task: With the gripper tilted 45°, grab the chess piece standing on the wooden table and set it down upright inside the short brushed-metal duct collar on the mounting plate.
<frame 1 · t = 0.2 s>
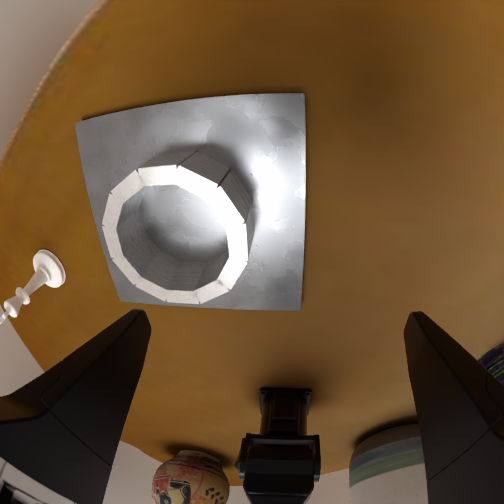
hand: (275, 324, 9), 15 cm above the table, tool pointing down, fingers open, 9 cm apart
chess piece: (51, 266, 29), on the table
vase: (393, 436, 41), on the table
ceramic jug: (195, 456, 52), on the table
duct collar: (190, 212, 24), on the table
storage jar: (493, 363, 30), on the table
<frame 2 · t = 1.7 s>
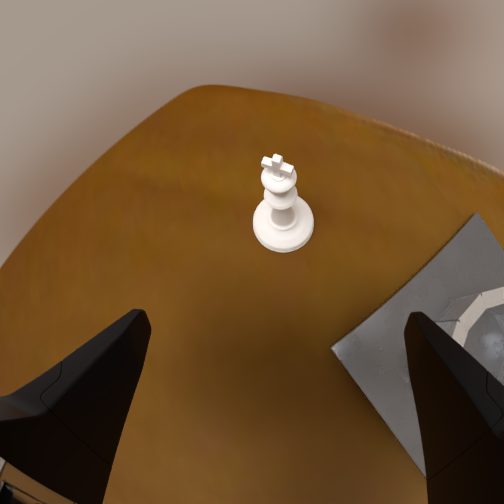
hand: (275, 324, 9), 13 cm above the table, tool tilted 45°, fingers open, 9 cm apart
chess piece: (283, 223, 25), on the table
duct collar: (467, 356, 19), on the table
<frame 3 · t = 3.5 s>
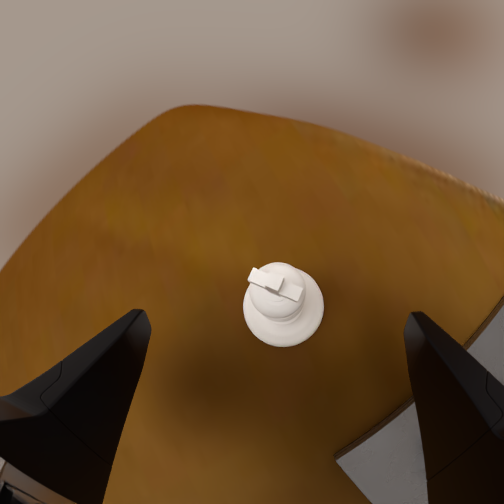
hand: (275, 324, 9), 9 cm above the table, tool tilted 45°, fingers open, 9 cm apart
chess piece: (283, 307, 18), on the table
duct collar: (486, 446, 13), on the table
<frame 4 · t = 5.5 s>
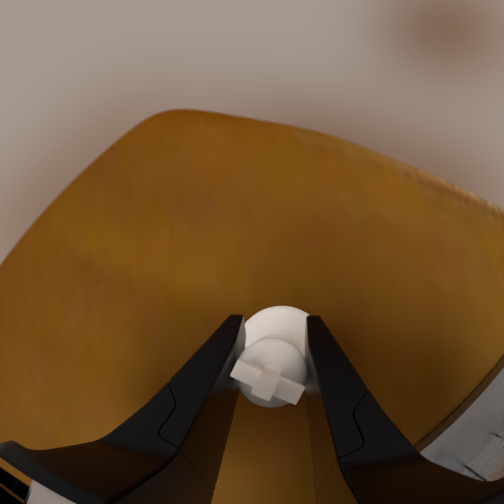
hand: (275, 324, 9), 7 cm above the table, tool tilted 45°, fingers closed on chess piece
chess piece: (281, 351, 16), on the table, touching gripper
duct collar: (492, 482, 10), on the table
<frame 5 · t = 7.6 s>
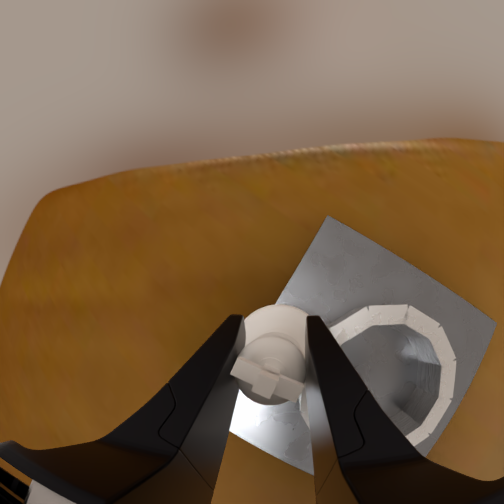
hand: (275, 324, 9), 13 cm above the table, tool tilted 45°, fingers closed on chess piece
chess piece: (278, 349, 16), point 6 cm above the table, touching gripper
duct collar: (366, 375, 20), on the table
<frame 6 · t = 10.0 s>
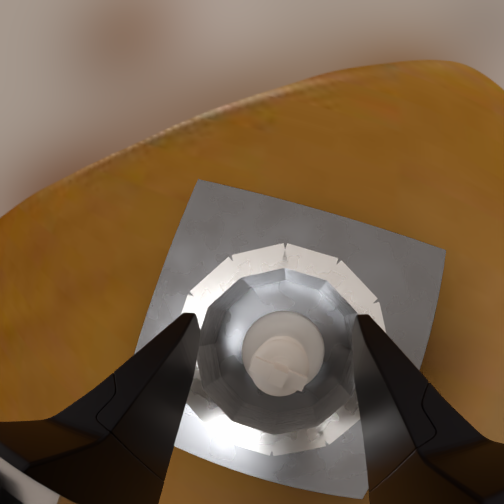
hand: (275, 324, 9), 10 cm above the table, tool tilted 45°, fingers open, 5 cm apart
chess piece: (283, 351, 17), point 1 cm above the table, touching duct collar
duct collar: (282, 347, 18), on the table
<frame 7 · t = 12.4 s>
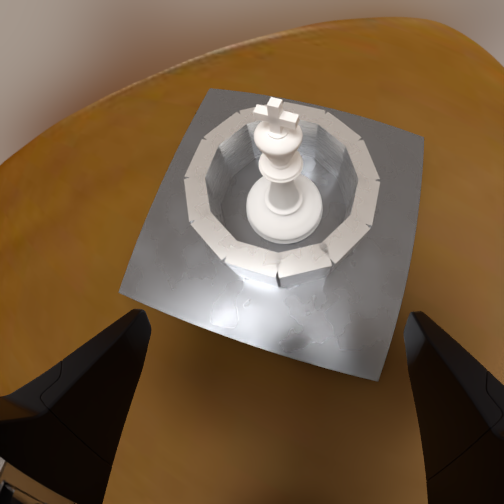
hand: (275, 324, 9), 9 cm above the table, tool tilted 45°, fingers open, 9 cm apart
chess piece: (284, 208, 20), point 1 cm above the table, touching duct collar
duct collar: (284, 210, 20), on the table
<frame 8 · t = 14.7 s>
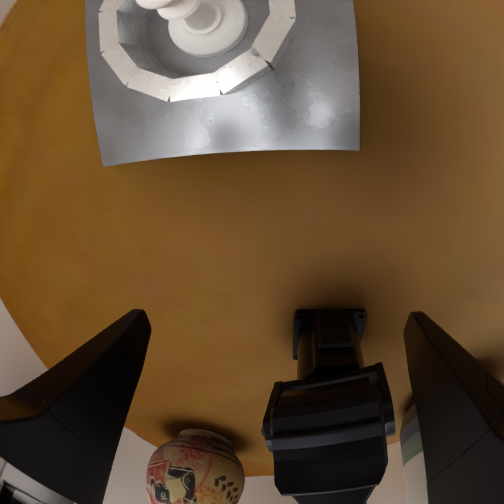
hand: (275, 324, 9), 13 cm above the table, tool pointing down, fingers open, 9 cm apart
chess piece: (209, 23, 14), point 1 cm above the table, touching duct collar
vase: (448, 394, 32), on the table
ceramic jug: (200, 437, 44), on the table
duct collar: (210, 23, 15), on the table
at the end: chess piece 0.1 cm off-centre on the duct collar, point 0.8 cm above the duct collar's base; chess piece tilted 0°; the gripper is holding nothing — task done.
